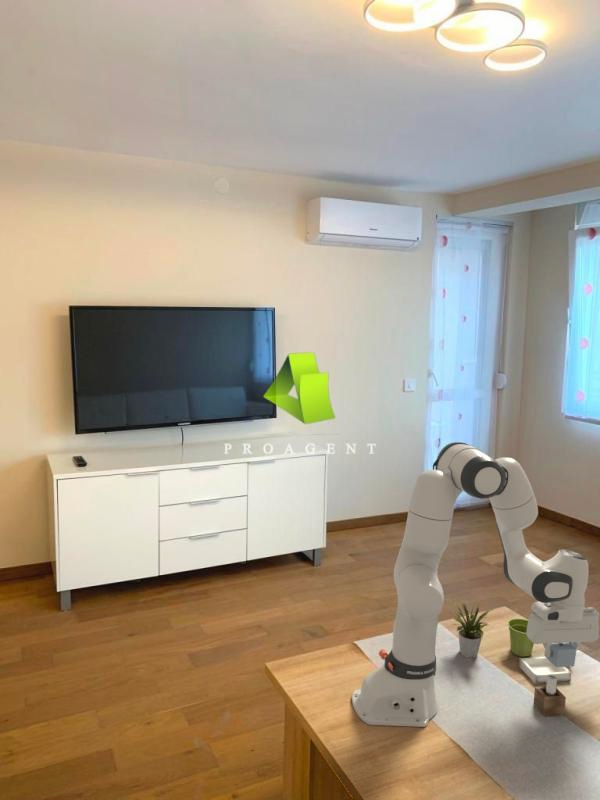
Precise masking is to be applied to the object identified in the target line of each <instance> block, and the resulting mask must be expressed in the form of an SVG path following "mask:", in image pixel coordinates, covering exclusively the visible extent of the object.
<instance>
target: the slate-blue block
mask: <svg viewBox="0 0 600 800" xmlns="http://www.w3.org/2000/svg"><path fill="white" fill-rule="evenodd" d="M549 648H550V649H551V650H552V651H553V652H554V653H553V657H547V656H546V655H545V654H544V657H546V658H547V659H548V660H549V661H550V662H551V663H552V664H553V665H554V666H555V667H566V668H567V667H568V668H569V667H574V666H575V663H576V655H577V651H576V648H574V647H573V646H572V645H571V644H570V643H569V642H568V643H551V646H549Z"/></svg>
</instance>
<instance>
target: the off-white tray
mask: <svg viewBox="0 0 600 800" xmlns="http://www.w3.org/2000/svg"><path fill="white" fill-rule="evenodd" d="M518 660H519V662H518V667H519V668H520V669H521V671H523V672H524V674H526V675H527V676H528V678H529V679H530V680H531V681H532V682H534V684H547V676H549V675H551V676H554V677H556V678H557V683H560V682H570V681H571V679H572V672H571V671H570V670H569V669H568V668H567V667H555V666H554V665H553V664H552V663H551V662H550V661H549V660H548V659H547V658H546V657H545V656H534V657H523V658H521V657H520V658H519V659H518Z"/></svg>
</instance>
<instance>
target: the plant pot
mask: <svg viewBox="0 0 600 800" xmlns="http://www.w3.org/2000/svg"><path fill="white" fill-rule="evenodd" d="M528 620H529V619H525V618H511V619H509V620H508V621H507V626H508V629H509V642H510V651H511V652H512V653H513V654H514V655H516V656H519V657H523V658H525V657H526V656H527V657H531V655H532V653H533V649H534V643H533V642H532V641H531V640H530V639H529V638H528V637H527V635H526V632H527V625H528Z"/></svg>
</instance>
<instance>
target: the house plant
mask: <svg viewBox="0 0 600 800" xmlns="http://www.w3.org/2000/svg"><path fill="white" fill-rule="evenodd" d="M449 601H450V602H452V603H453V604H454V605H455V607H456V608H457V610H458V611H457V610H455V611H450V613H453V614H455V613H456V616H454V617H453V620H455V621H456V622H459V623H460V624H461V625H458V626H457V624H455V623H453V625H455V626H457V627H456V632H457V633H458V643H459V653H460V652H461V653H460V654H461V655H462V654H463V655H462V656H464V655H465V656H464V657H466V656H468V657H467V658H476V657H478V654H479V650H480V645H481V642H482V639H483V636H484V635H485V633H484V631H483V630H482V629H483V628H484V627H487V626H488V625H489V623H487V622H484V621H483V622H482V621H481V620H482V619H488V616H487V615H488V613H490V612H492V611H493V610H494V608H491V609H488V610H485V611H484V612H483V613H482V614H481V615H480V616H478V614H479V611H480V604H479V603H478V605H477V606H476V609H475V611H474V612H473V610H474V607H475V605H476V604H477V602H475V603H474V604H473V606H472V609H471V612H470V614H469V611H468V608H467V605H466V603H465V602H464V601H462V600H461V601H460V603H461V605H462V607H463V611H464V613H465V617H466V618H465V617H464V614H463V612H462V610H461V609H460V607H459V605H458V604H457V603H456V602H455V601H453V600H450V599H449ZM477 616H478V618H477ZM485 616H486V617H485ZM462 619H463V620H462ZM476 619H477V620H476ZM475 656H476V657H475Z"/></svg>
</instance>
